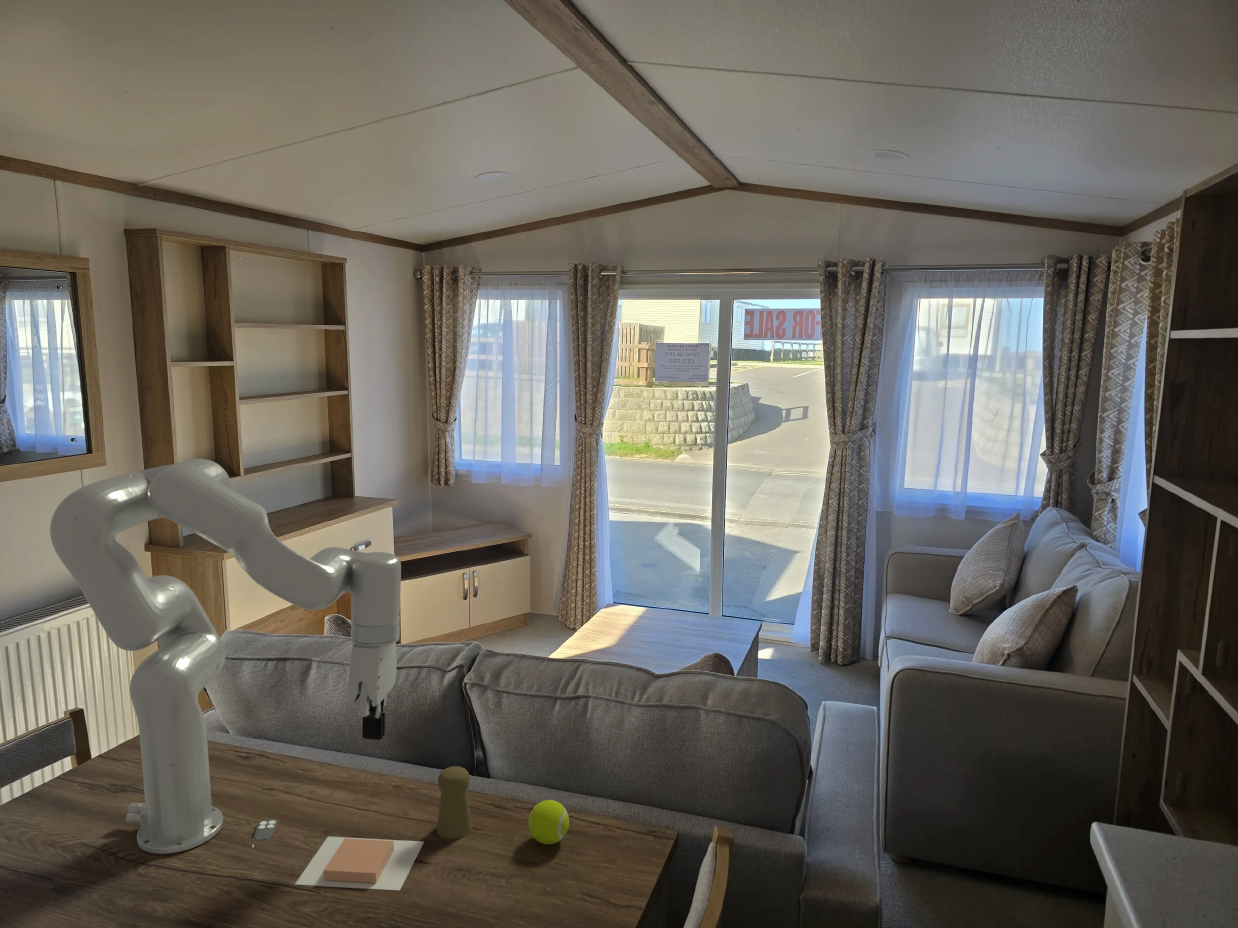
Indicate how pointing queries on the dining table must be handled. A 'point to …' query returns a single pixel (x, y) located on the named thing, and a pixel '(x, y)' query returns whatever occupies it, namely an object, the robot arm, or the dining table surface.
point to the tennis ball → (548, 822)
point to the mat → (388, 880)
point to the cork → (454, 804)
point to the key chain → (264, 829)
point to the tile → (359, 860)
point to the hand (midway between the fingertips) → (373, 736)
